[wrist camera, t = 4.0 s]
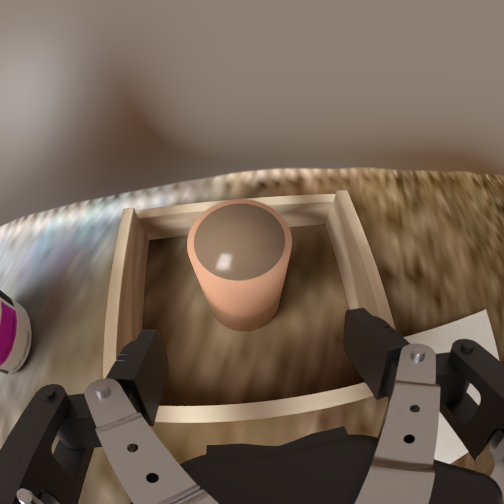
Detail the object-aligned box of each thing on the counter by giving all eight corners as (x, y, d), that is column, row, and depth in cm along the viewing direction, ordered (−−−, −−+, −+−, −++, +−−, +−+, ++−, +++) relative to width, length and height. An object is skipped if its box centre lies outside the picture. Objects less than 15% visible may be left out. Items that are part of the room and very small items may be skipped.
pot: (275, 263, 25) (283, 195, 17) (283, 328, 22) (300, 282, 14) (208, 268, 25) (189, 202, 17) (210, 333, 22) (185, 290, 14)
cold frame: (331, 216, 28) (346, 175, 23) (377, 390, 19) (415, 381, 14) (141, 232, 27) (121, 193, 22) (132, 416, 18) (96, 415, 13)
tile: (482, 311, 22) (485, 309, 21) (504, 422, 15) (507, 421, 14) (388, 342, 21) (391, 340, 21) (409, 482, 14) (412, 483, 13)
